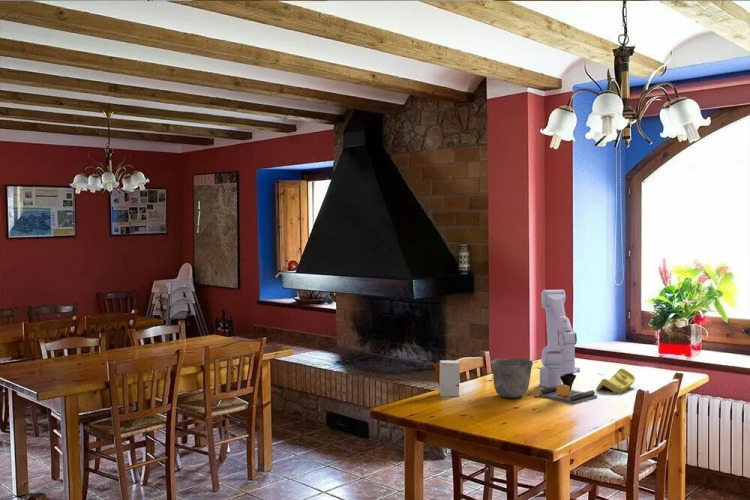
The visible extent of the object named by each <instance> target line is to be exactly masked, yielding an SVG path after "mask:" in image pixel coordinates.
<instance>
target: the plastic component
mask: <svg viewBox="0 0 750 500" xmlns="http://www.w3.org/2000/svg"><path fill="white" fill-rule="evenodd" d="M635 381H636V377H635V376H634V374H632V373H631V372H629V371H628V370H626V369H624V368H623V367H622V368H619V369H618V370H617V371H616V372H615V373H614V374H613V376H611V378H609V379H607V378H603V379H601V381H599V384H598V385H597V386H596V390H597V391H600V390H601V389H603V388H604V387H606V388H607V389H609V390H610V391H613V393H616V394H622V393H623V392H625V391H626V390H628V389H630V387H631V386H632V385H633V384H634V382H635Z"/></svg>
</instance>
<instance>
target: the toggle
mask: <svg viewBox="0 0 750 500" xmlns="http://www.w3.org/2000/svg"><path fill="white" fill-rule="evenodd" d="M557 395H561V396H569V395H570V386H568V385H564V384H563V383H562V384H559V385H557Z"/></svg>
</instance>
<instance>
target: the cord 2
mask: <svg viewBox="0 0 750 500" xmlns="http://www.w3.org/2000/svg"><path fill="white" fill-rule="evenodd" d="M582 392H583V393H579V394H575V395H572V396H570V399H571V400H576V399H580V398H584V397H587V396H591V395H596V392H595V390H593V389H591V390H588V391H585V392H584V391H582Z"/></svg>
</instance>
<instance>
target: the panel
mask: <svg viewBox="0 0 750 500" xmlns="http://www.w3.org/2000/svg"><path fill="white" fill-rule="evenodd" d="M583 392H584V391H579V390H576V389H575V390H574V389H571V392H570V395H569V396H561V395H557V390H556V391H552V392H548V393H544V394H543V393H541V392H539V393H538V397H541V398H546V399H551V400H555V401H559V402H563V403H567V404H571V405H576V404H579V403H580V404H581V403H584V402H587V401H591V400H594V399H598V395H597V394H594V395H591V396H587V397H584V398H580V399H576V400H571V399H570V396H572V395H575V394H579V393H583Z"/></svg>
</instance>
